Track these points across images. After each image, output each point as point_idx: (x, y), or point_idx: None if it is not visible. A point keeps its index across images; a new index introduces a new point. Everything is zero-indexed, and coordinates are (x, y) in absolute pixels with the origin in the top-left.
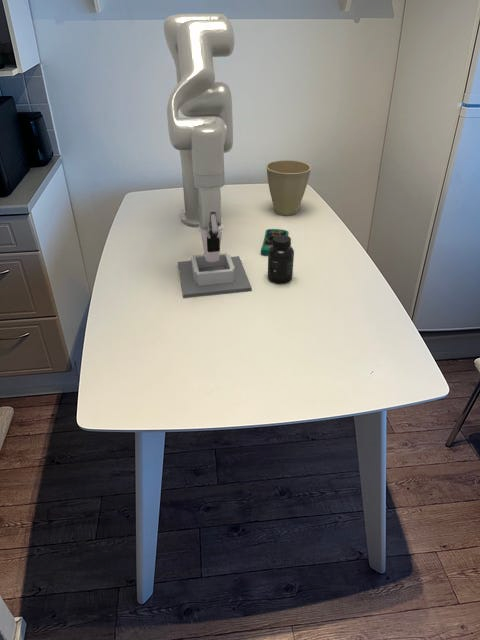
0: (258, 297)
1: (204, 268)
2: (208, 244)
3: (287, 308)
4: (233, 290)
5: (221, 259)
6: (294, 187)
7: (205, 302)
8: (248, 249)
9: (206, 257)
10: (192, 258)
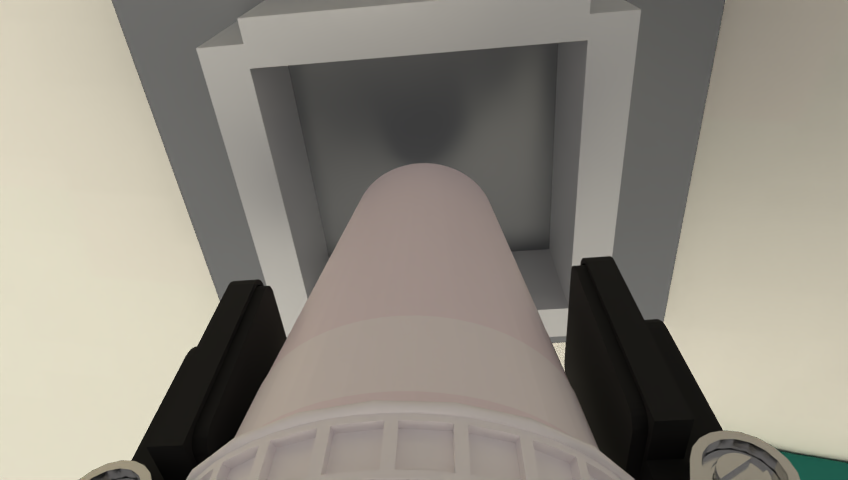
0: (181, 364)
1: (539, 91)
2: (201, 365)
3: (100, 452)
4: (211, 264)
5: (561, 254)
6: None
7: (57, 65)
8: (764, 378)
9: (373, 193)
10: (563, 3)
